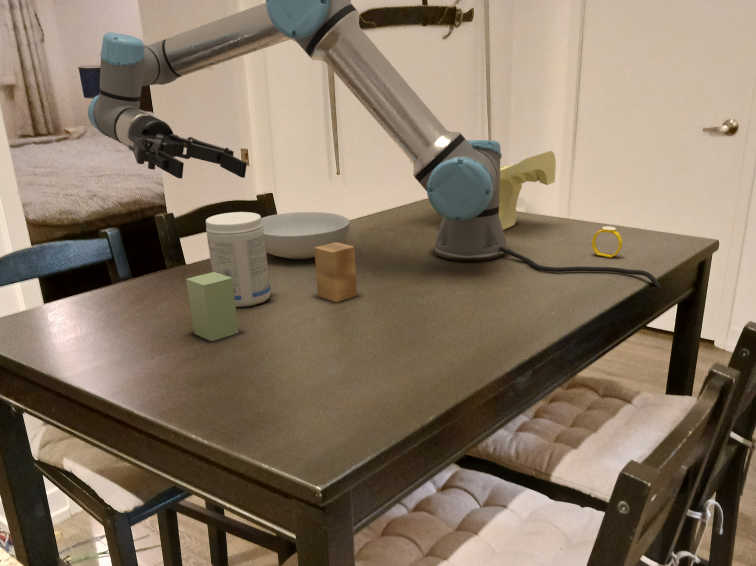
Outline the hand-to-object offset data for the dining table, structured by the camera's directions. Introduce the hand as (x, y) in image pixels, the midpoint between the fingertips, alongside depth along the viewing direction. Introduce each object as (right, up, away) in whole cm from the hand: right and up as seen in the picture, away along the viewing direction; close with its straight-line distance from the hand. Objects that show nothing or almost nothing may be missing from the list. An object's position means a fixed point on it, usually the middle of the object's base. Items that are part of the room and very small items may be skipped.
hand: (214, 170), depth 135 cm
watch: (+75, -12, +22) cm, 79 cm away
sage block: (+4, -30, -15) cm, 34 cm away
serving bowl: (+12, -10, +28) cm, 32 cm away
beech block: (+22, -22, +1) cm, 31 cm away
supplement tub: (+5, -23, 0) cm, 24 cm away
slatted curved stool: (+52, 0, +49) cm, 72 cm away
